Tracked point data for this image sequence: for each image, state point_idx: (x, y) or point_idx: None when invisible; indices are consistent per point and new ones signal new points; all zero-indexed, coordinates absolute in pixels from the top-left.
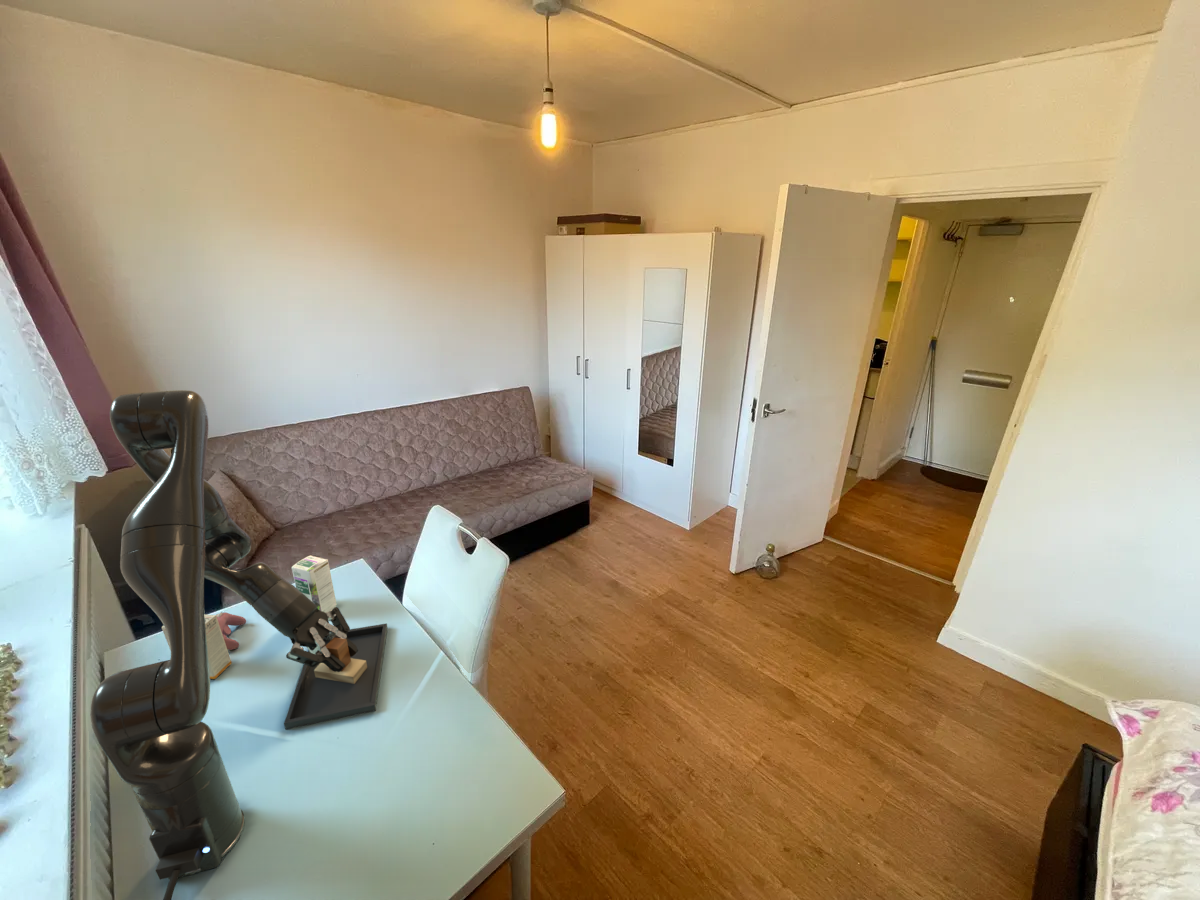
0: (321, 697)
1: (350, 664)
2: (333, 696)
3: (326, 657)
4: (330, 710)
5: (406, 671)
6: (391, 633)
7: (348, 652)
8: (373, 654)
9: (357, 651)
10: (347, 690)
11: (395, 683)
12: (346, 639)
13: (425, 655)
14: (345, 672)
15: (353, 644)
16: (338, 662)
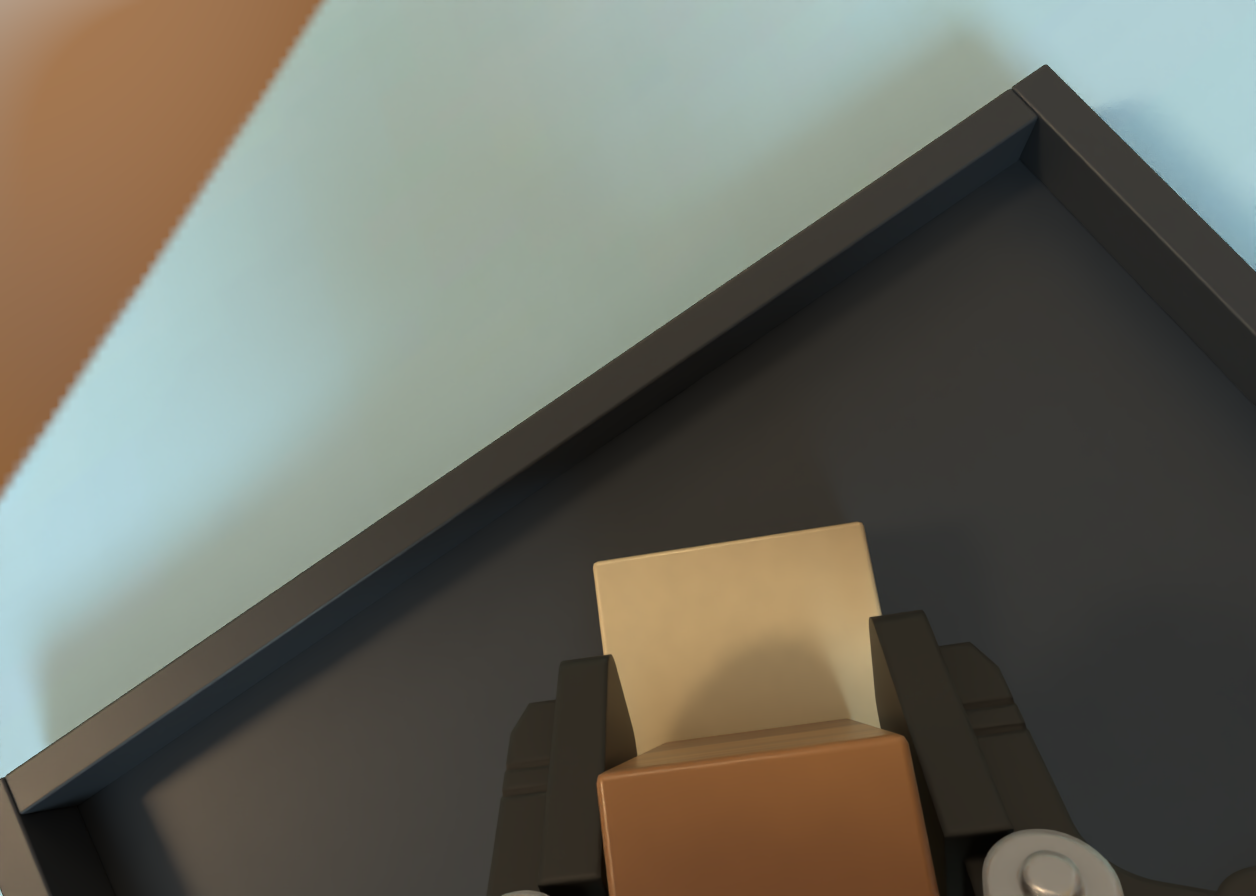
0: (1161, 761)
1: (712, 706)
2: (1085, 633)
3: (1091, 862)
4: (1242, 517)
5: (514, 209)
6: (90, 714)
7: (658, 751)
8: (428, 651)
9: (577, 660)
10: (950, 549)
11: (670, 203)
12: (604, 772)
13: (294, 182)
14: (844, 665)
15: (517, 768)
16: (938, 684)
